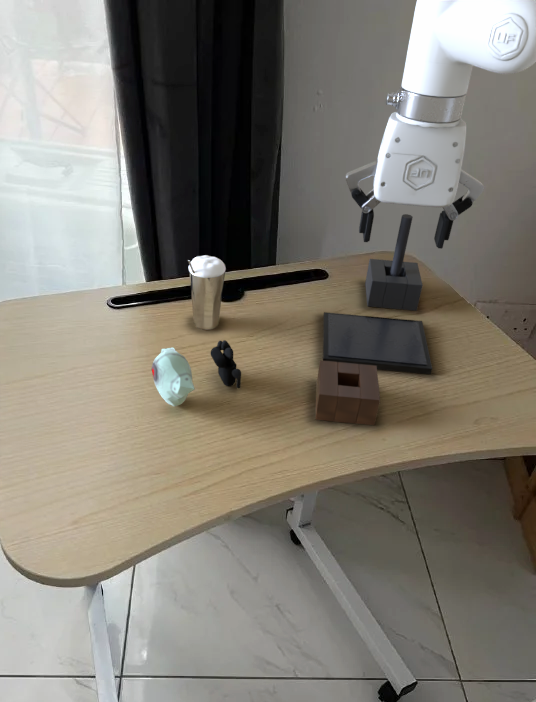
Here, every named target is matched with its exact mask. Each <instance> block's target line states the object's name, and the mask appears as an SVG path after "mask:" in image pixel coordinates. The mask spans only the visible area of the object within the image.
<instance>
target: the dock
mask: <svg viewBox="0 0 536 702" xmlns="http://www.w3.org/2000/svg"><path fill="white" fill-rule="evenodd" d="M392 262H393V260H391V259H390V260H389V259H379V258H369V259H368V266H367V271H366V278H365V283H364V286H365V296H366V306H367V307H370V308H380V309H381V308H382V309H392V310H404V311H413V312H415V311H416V312H417V311H418V307H419V303H420V299H421V294H422V290H423V286H424V285H423V281H422V277H421V272H420V268H419V265H418V264H419V263H418V262H413V261H412V262H411V261H403V264H402V269H401V274H400V277H398V276H390V271H391V266H392Z"/></svg>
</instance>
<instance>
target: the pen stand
mask: <svg viewBox="0 0 536 702" xmlns="http://www.w3.org/2000/svg"><path fill="white" fill-rule="evenodd" d="M380 403H381V396H380V385H379V376H378V369H377V366H373V365H363V364H352V363H342V362H338V363H337V362H333V361H323V359H322V360H321V359H320V360H319V362H318V372H317V377H316V384H315V418H314V419H315V420H317V421H327V422H336V423H345V424H355V425H356V424H358V425H367V426H375V425H376V420H377V416H378V411H379V407H380Z"/></svg>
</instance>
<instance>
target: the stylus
mask: <svg viewBox="0 0 536 702" xmlns="http://www.w3.org/2000/svg"><path fill="white" fill-rule="evenodd" d="M412 222H413V215H412V214H408V213H406V214H405V213H404V214H402V215H401V218H400V223H399V228H398V233H397V238H396V241H395V248H394V251H393V257H392V261H393V262H392V266H391V271H390V276H398V277H400V274H401V269H402V264H403V262H404V260H405V255H406V249H407V245H408V240H409V236H410V232H411V226H412Z"/></svg>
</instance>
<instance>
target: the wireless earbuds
mask: <svg viewBox="0 0 536 702" xmlns="http://www.w3.org/2000/svg"><path fill="white" fill-rule="evenodd" d="M210 357H211V359H212V360H213V362H214V364H215V365H216V367H217V373H218V376H219V379H221V381H222V383H223V385H224V386H226V387H232V386H234V385H235V384H236V389H237V390H240V389H241V385H242V370H241V369H239V368H237V367H238V366H237V365H238V364H237V362H236V361H235V360H234V350H233V348H232V347H231V345H230V343H229V342H228V341H227V340H225V339H224V340H218V342H217V344H216V346H213V347H212V348H211V350H210Z"/></svg>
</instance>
